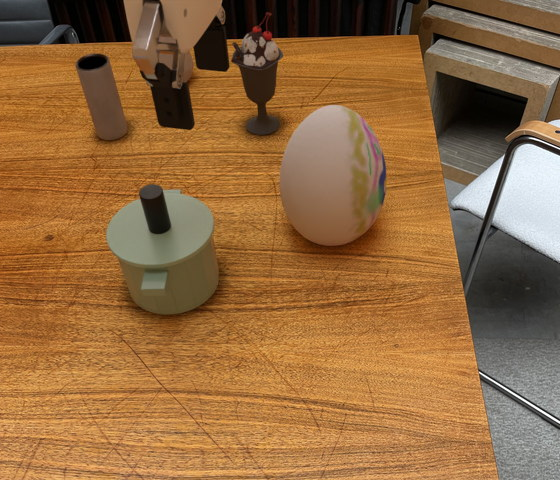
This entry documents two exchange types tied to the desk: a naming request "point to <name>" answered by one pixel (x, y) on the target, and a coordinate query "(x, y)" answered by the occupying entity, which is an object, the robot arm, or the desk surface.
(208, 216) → the lid
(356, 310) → the desk surface
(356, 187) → the decorative egg
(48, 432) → the desk surface
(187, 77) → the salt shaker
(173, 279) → the pot
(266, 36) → the sundae
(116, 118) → the grey tube
